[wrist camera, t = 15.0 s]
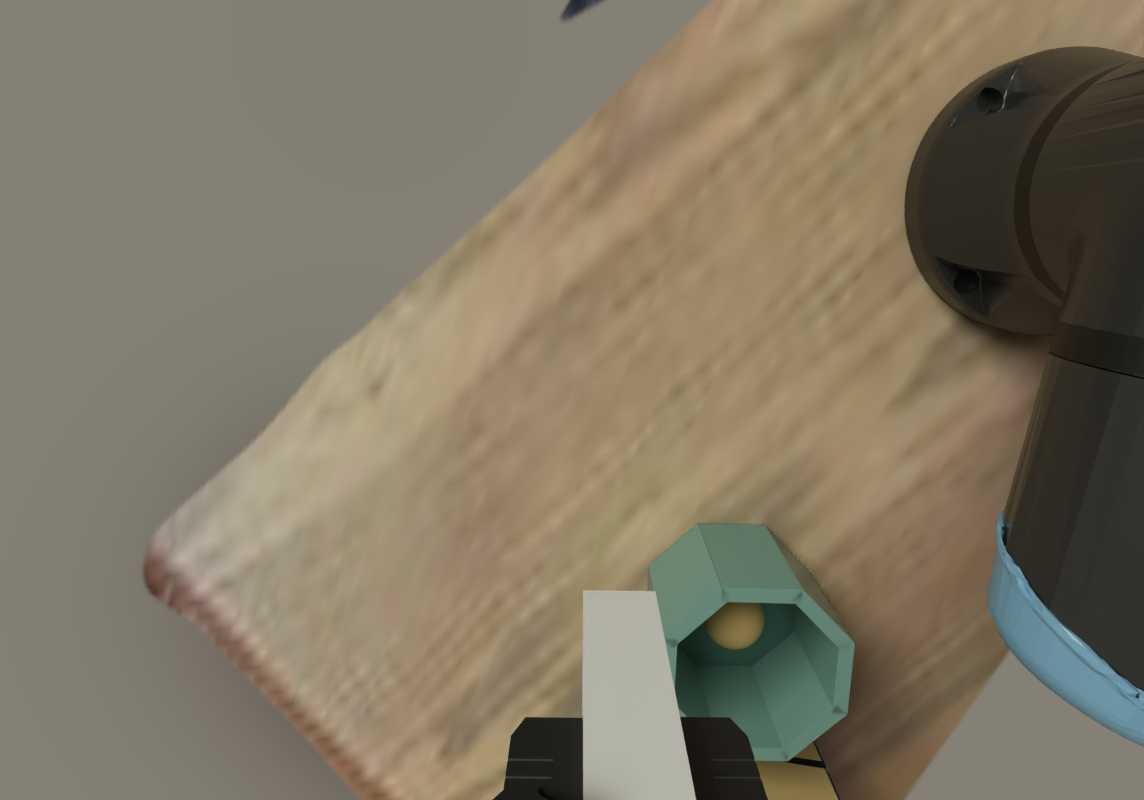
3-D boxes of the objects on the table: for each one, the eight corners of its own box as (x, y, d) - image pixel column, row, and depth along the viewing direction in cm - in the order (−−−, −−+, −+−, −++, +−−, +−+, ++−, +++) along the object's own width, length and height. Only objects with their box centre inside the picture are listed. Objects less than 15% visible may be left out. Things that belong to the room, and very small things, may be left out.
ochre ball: (759, 578, 50) (772, 605, 47) (755, 631, 51) (768, 662, 48) (701, 576, 50) (710, 603, 47) (698, 630, 51) (706, 660, 48)
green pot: (812, 526, 50) (860, 590, 42) (799, 672, 53) (842, 763, 44) (650, 521, 51) (664, 585, 42) (644, 667, 53) (656, 757, 44)
